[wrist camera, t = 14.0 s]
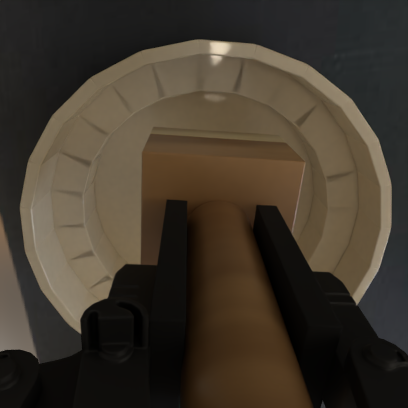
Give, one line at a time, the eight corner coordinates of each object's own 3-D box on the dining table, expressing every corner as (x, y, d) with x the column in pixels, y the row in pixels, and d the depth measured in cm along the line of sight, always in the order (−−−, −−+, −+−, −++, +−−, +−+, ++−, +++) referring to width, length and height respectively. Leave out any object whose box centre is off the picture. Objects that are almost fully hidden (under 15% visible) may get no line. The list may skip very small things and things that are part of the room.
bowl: (51, 29, 21) (-4, 21, 15) (375, 57, 23) (441, 59, 17) (70, 304, 29) (38, 371, 23) (315, 314, 30) (346, 381, 24)
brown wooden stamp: (152, 126, 17) (35, 386, 4) (279, 134, 18) (546, 398, 4) (150, 239, 20) (69, 641, 6) (262, 245, 20) (405, 636, 7)
